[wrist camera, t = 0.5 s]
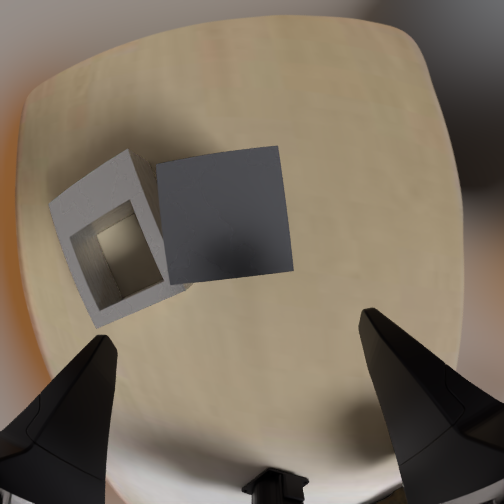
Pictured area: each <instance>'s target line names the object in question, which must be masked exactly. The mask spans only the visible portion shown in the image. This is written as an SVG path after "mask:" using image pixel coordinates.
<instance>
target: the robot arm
mask: <svg viewBox="0 0 504 504" xmlns="http://www.w3.org/2000/svg"><path fill="white" fill-rule="evenodd" d="M359 334H360V338H361V342H362V346H363V350H364V354H365V359H366V363H367V367H368V370H369V374H370V377H371V379H372V382H373V385H374V388H375V391H376V394H377V397H378V400H379V403H380V406H381V409H382V412H383V415H384V418H385V421H386V425H387V428H388V431H389V434H390V438H391V441H392V445H393V448H394V451H395V455H396V459H397V462H398V466H399V470H400V474H401V478H402V482H403V486H404V490H405V494H406V499H407V503H408V504H504V403H502V402H500V401H498V400H496V399H495V398H493V397H492V396H490V395H489V394H487V393H486V392H484V391H483V390H481V389H480V388H478V387H477V386H475V385H474V384H472V383H471V382H469V381H468V380H466V379H465V378H464V377H462V376H461V375H460V374H458V373H457V372H456V371H455V370H453V369H452V368H451V367H450V366H448V365H447V364H446V365H445V363H444V362H443V361H442V360H441V359H440V358H438V357H437V356H436V355H435V354H433V353H432V352H431V351H430V350H428V349H427V348H426V347H424V346H423V345H422V344H421V343H419V342H418V341H417V340H416V339H414V338H413V337H412V336H410V335H409V334H408V333H407V332H405V331H404V330H403V329H401V328H400V327H399V326H398V325H396V324H395V323H394V322H392V321H391V320H390V319H389V318H387V317H386V316H385V315H383V314H382V313H381V312H379V311H378V310H377V309H375V308H367V309H363V310H362V312H361V317H360V322H359ZM117 356H118V353H117V349H116V347H115V346H114V344H113V343H112V341H111V340H110V338H109V337H108V336H107V335H97V336H95V337H94V338H93V339H92V340H91V341H90V342H89V343H88V344H87V345H86V346H85V347H84V348H83V349H82V350H81V351H80V352H79V353H78V354H77V355H76V356H75V357H74V358H73V359H72V360H71V361H70V362H69V363H68V365H67V366H66V367H65V368H64V369H63V370H62V371H61V372H60V373H59V374H58V375H57V376H56V377H55V378H54V379H53V380H52V381H51V382H50V383H49V384H48V385H47V386H46V387H45V389H44V390H43V391H42V392H41V394H39V395H38V396H37V397H36V398H35V399H34V400H33V402H31V403H30V405H29V406H28V407H27V408H26V409H25V410H24V411H22V412H21V413H20V414H19V415H18V416H17V417H16V418H15V419H14V420H13V421H12V422H11V423H10V424H9V425H8V426H7V427H6V428H5V429H4V430H2V431H0V504H105V477H106V460H107V448H108V438H109V428H110V420H111V413H112V406H113V399H114V392H115V382H116V368H117ZM308 483H309V480H308V479H306V478H303V477H299V476H295V475H292V474H288V473H285V472H282V471H279V470H275V469H272V468H268V469H266V470H265V471H264V472H263V473H261V474H260V475H259V476H258V477H256V478H255V479H254V480H252V481H251V482H250V483H248V484H247V485H246V486H244V487H243V488H242V492H244V493H247V494H250V495H252V504H304V503H303V501H304V500H305V499H304V493H303V487H304V486H305V485H307V484H308Z"/></svg>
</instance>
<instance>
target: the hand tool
mask: <svg viewBox="0 0 504 504" xmlns="http://www.w3.org/2000/svg"><path fill="white" fill-rule="evenodd" d="M375 504H408V503H407V499H406V494H405V491H404V489H403V487H401V488H399V489H397V490H395V491H394V492H393V494H392V495H390V496H389V497H387V498H385V499H383V500H381V501H379V502H377V503H375Z"/></svg>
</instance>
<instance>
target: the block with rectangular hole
mask: <svg viewBox="0 0 504 504" xmlns="http://www.w3.org/2000/svg"><path fill="white" fill-rule="evenodd" d="M49 208H50V212H51V215H52V219H53V222H54V225H55V229H56V232H57V235H58V238H59V241H60V244H61V247H62V250H63V253H64V256H65V258H66V261H67V264H68V266H69V269H70V271H71V274H72V277H73V279H74V281H75V284H76V286H77V289H78V291H79V293H80V296H81V298H82V300H83V302H84V304H85V307H86V309H87V311H88V313H89V315H90V317H91V319H92V321H93V323H94V325H95V327H96V329H97V328H99V327H102V326H104V325H106V324H109V323H111V322H113V321H116V320H118V319H120V318H123V317H125V316H127V315H130V314H132V313H134V312H137V311H139V310H141V309H144V308H146V307H148V306H151V305H153V304H155V303H158V302H160V301H162V300H165V299H167V298H169V297H172V296H174V295H176V294H178V293H181V292H183V291H185V290H187V289H188V288H189V287H190V286H191V285H192V284H193V283H186V284H176V285H170V281H169V275H168V269H167V262H166V255H165V248H164V241H163V233H162V225H161V216H160V207H159V197H158V185H157V182H156V179H155V177H154V174H153V171H152V169H151V166H150V164H149V161H148V160H146V159H144V158H143V157H141V156H139V155H138V154H136V153H134V152H133V151H131V150H129V149H126V150H124V151H123V152H121V153H120V154H118V155H116V156H115V157H113V158H112V159H110V160H108V161H107V162H105V163H104V164H102V165H101V166H99V167H98V168H96V169H95V170H93V171H92V172H90V173H89V174H87V175H86V176H85V177H83V178H82V179H80V180H79V181H77V182H76V183H75V184H73V185H72V186H71V187H69V188H68V189H67V190H65V191H64V192H63V193H61V194H60V195H59V196H57V197H56V198H55V199H54V200H52V201H51V202H50V203H49ZM133 213H135V214H136V216H137V219H138V221H139V224H140V226H141V229H142V231H143V234H144V236H145V239H146V241H147V243H148V246H149V248H150V250H151V253H152V255H153V257H154V260H155V262H156V264H157V266H158V268H159V271H160V273H161V275H162V277H163V280H161V281H159V282H156V283H154V284H152V285H150V286H148V287H146V288H143V289H141V290H139V291H137V292H135V293H133V294H130V295H128V296H126V297H124V298H123V297H122V295H121V293H120V291H119V289H118V287H117V284H116V282H115V280H114V278H113V275H112V273H111V271H110V268H109V266H108V263H107V261H106V259H105V256H104V254H103V251H102V249H101V246H100V243H99V241H98V238H97V234H99V233H101V232H102V231H104V230H106V229H107V228H109V227H111V226H112V225H114V224H116V223H118V222H119V221H121V220H123V219H125V218H126V217H128V216H130V215H132V214H133Z"/></svg>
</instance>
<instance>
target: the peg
mask: <svg viewBox="0 0 504 504" xmlns="http://www.w3.org/2000/svg"><path fill="white" fill-rule="evenodd" d="M156 173H157V185H158V197H159V207H160V216H161V225H162V233H163V241H164V248H165V255H166V262H167V269H168V275H169V281H170V285H176V284H186V283H195V282H205V281H214V280H223V279H232V278H240V277H249V276H257V275H265V274H273V273H281V272H289V271H294V269H293V259H292V250H291V241H290V232H289V224H288V216H287V208H286V200H285V192H284V185H283V178H282V170H281V163H280V157H279V150H278V146H269V147H260V148H251V149H243V150H235V151H228V152H221V153H214V154H208V155H202V156H196V157H190V158H185V159H179V160H174V161H169V162H164V163H159V164H156Z"/></svg>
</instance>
